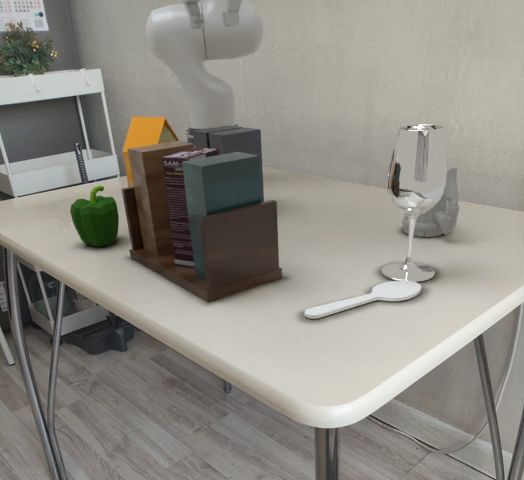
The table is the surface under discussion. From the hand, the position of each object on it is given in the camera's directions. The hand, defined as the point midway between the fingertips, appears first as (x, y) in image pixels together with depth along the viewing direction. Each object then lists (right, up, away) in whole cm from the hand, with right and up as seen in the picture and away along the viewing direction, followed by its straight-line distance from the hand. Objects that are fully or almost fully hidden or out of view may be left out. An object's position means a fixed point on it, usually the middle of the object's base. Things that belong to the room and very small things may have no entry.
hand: (213, 27), depth 79 cm
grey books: (+1, -18, +35) cm, 39 cm away
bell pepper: (-23, -28, +19) cm, 41 cm away
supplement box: (-2, -34, +5) cm, 34 cm away
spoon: (+21, -42, -9) cm, 47 cm away
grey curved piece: (+37, -28, +14) cm, 48 cm away
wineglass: (+29, -37, -1) cm, 47 cm away
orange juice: (-13, -23, +28) cm, 38 cm away
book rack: (-2, -35, +6) cm, 35 cm away
